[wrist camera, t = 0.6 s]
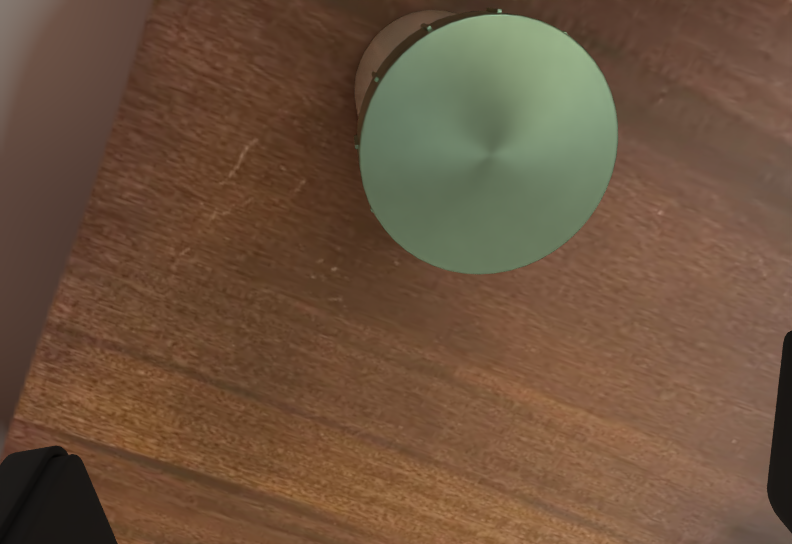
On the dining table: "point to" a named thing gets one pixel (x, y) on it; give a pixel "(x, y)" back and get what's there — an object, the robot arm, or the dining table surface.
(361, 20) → the dining table surface
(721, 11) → the dining table surface
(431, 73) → the jar lid
